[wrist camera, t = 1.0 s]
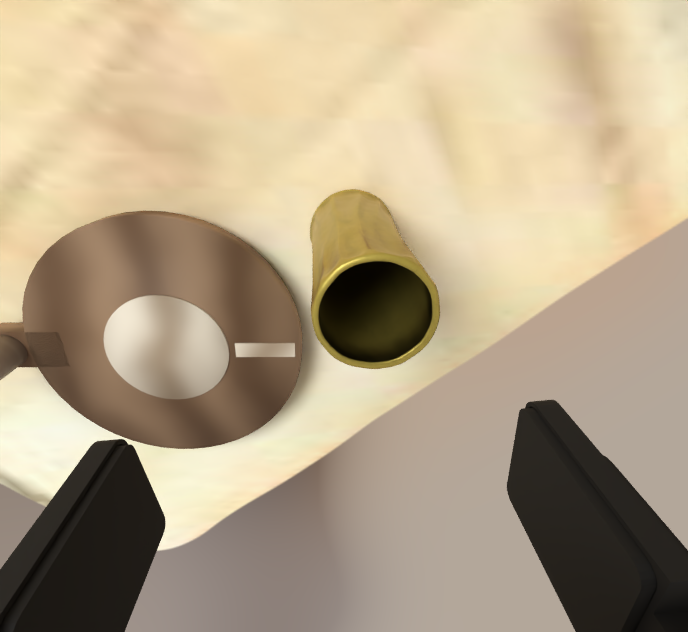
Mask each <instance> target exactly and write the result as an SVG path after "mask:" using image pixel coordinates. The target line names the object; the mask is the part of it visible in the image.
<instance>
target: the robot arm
mask: <svg viewBox="0 0 688 632" xmlns="http://www.w3.org/2000/svg"><path fill="white" fill-rule="evenodd" d="M507 491H508V495H509V498H510V501H511V503H512V505H513V507H514V509H515V511H516V513H517V515H518V517H519V519H520V521H521V523H522V525H523V527H524V529H525V531H526V533H527V535H528V537H529V539H530V541H531V543H532V545H533V547H534V549H535V551H536V553H537V555H538V557H539V559H540V561H541V563H542V565H543V567H544V569H545V571H546V573H547V575H548V577H549V579H550V581H551V583H552V585H553V587H554V589H555V591H556V593H557V595H558V597H559V599H560V601H561V603H562V605H563V607H564V609H565V611H566V613H567V615H568V617H569V619H570V621H571V623H572V625H573V627H574V629H575V631H576V632H688V550H687V549H686V548H685V547H684V545H683V544H682V543H681V542H680V541H679V540H678V538H677V537H676V536H675V535H674V534H673V533H672V532H671V530H670V529H669V528H668V527H667V526H666V524H665V523H664V522H663V521H662V520H661V519H660V518H659V516H658V515H657V514H656V513H655V512H654V511H653V509H652V508H651V507H650V506H649V505H648V504H647V502H646V501H645V500H644V499H643V498H642V497H641V496H640V494H639V493H638V492H637V491H636V490H635V488H634V487H633V486H632V485H631V484H630V483H629V482H628V480H627V479H626V478H625V477H624V476H623V475H622V473H621V472H620V471H619V470H618V469H617V468H616V467H615V465H614V464H613V463H612V462H611V461H610V460H609V459H608V458H607V457H605V456H603V455H602V454H601V453H600V452H599V450H598V449H597V448H596V447H595V446H594V445H593V443H592V442H591V441H590V440H589V439H588V437H587V436H586V435H585V434H584V433H583V432H582V430H581V429H580V428H579V427H578V426H577V425H576V423H575V422H574V421H573V420H572V419H571V417H570V416H569V415H568V414H567V413H566V412H565V410H564V409H563V408H562V407H561V406H560V405H559V403H557V402H556V401H555V400H545V401H534V402H528V403H527V404H526V407H525V409H521V410H520V412H519V417H518V423H517V429H516V435H515V440H514V446H513V452H512V458H511V464H510V470H509V476H508V482H507ZM164 530H165V516H164V514H163V512H162V509H161V507H160V505H159V503H158V500H157V498H156V496H155V493H154V491H153V489H152V487H151V484H150V482H149V480H148V478H147V475H146V473H145V471H144V469H143V466H142V464H141V462H140V460H139V457H138V455H137V453H136V451H135V448H134V447H133V446H132V445H128V444H127V442H126V441H125V440H123V439H118V440H107V441H97V442H95V443H94V444H93V445H92V446H91V447H90V448H89V449H88V451H87V452H86V454H85V455H84V456H83V458H82V459H81V460H80V462H79V463H78V464H77V466H76V467H75V469H74V470H73V471H72V473H71V474H70V475H69V477H68V478H67V479H66V481H65V482H64V484H63V485H62V486H61V488H60V489H59V490H58V492H57V493H56V494H55V496H54V497H53V499H52V500H51V501H50V503H49V504H48V505H47V507H46V508H45V509H44V511H43V512H42V514H41V515H40V516H39V518H38V519H37V520H36V522H35V523H34V525H33V526H32V527H31V529H30V530H29V531H28V533H27V534H26V535H25V537H24V538H23V539H22V541H21V542H20V544H19V545H18V546H17V548H16V549H15V550H14V552H13V553H12V554H11V556H10V557H9V558H8V560H7V561H6V563H5V564H4V565H3V567H2V568H1V569H0V632H125V629H126V627H127V624H128V621H129V619H130V616H131V614H132V611H133V609H134V606H135V604H136V601H137V599H138V596H139V594H140V591H141V589H142V586H143V584H144V581H145V579H146V576H147V574H148V571H149V568H150V566H151V563H152V561H153V559H154V556H155V553H156V551H157V548H158V546H159V543H160V541H161V538H162V536H163V533H164Z"/></svg>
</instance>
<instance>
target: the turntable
mask: <svg viewBox="0 0 688 632" xmlns="http://www.w3.org/2000/svg"><path fill="white" fill-rule="evenodd" d="M22 310H23V323H1V324H0V380H1V379H3V378H4V377H5V376H6V375H8V374H9V373H10V372H12V371H13V370H14V369H16V368H17V367H38V368H39V370H40V371H41V373H42V374H43V376H44V377H45V379H46V380H47V381H48V383H49V384H50V385H51V386H52V388H53V389H54V390H55V391H56V392H57V393H58V394H59V396H60V397H61V398H63V399H64V400H65V401H66V402H67V403H68V404H69V405H70V406H71V407H72V408H74V409H75V410H76V411H78V412H79V413H80V414H82V415H83V416H84V417H86V418H87V419H89V420H90V421H92V422H94V423H95V424H97V425H99V426H100V427H102V428H104V429H106V430H108V431H111V432H113V433H115V434H117V435H120V436H122V437H125V438H127V439H130V440H133V441H137V442H141V443H144V444H148V445H154V446H159V447H166V448H177V449H194V448H205V447H212V446H216V445H221V444H225V443H228V442H231V441H235V440H237V439H240V438H242V437H244V436H246V435H249V434H250V433H252V432H254V431H255V430H257V429H259V428H260V427H262V426H263V425H264V424H266V423H267V422H268V421H269V420H271V419H272V418H273V417H274V416H275V415H276V414H277V413H278V412H279V411H280V410H281V408H282V407H283V406H284V404H285V403H286V401H287V400H288V398H289V397H290V395H291V393H292V391H293V389H294V387H295V384H296V381H297V378H298V375H299V371H300V364H301V357H302V330H301V323H300V319H299V315H298V312H297V309H296V305H295V303H294V301H293V299H292V297H291V295H290V292H289V290H288V289H287V287H286V286H285V284H284V283H283V281H282V279H281V278H280V276H279V275H278V274H277V273H276V271H275V270H274V269H273V268H272V267H271V265H270V264H269V263H268V262H267V261H266V260H265V259H264V258H263V257H262V256H261V255H260V254H259V253H257V252H256V251H255V250H254V249H253V248H251V247H250V246H249V245H247V244H246V243H245V242H243V241H242V240H241V239H239V238H238V237H236V236H234V235H232V234H231V233H229V232H227V231H225V230H224V229H222V228H219V227H217V226H215V225H212V224H210V223H208V222H205V221H203V220H199V219H196V218H193V217H189V216H186V215H181V214H175V213H169V212H161V211H137V212H126V213H121V214H117V215H112V216H108V217H105V218H102V219H100V220H97V221H95V222H92V223H90V224H87V225H85V226H82V227H80V228H77V229H75V230H74V231H72V232H70V233H69V234H67V235H65V236H64V237H62V238H61V239H59V240H58V241H57V242H56V243H55V244H54V245H52V246H51V247H50V248H49V249H48V250H47V251H46V252H45V254H44V255H43V256H42V257H41V258H40V260H39V261H38V262H37V264H36V266H35V268H34V269H33V271H32V273H31V275H30V277H29V280H28V283H27V286H26V289H25V292H24V300H23V307H22Z"/></svg>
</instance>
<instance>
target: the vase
mask: <svg viewBox="0 0 688 632" xmlns="http://www.w3.org/2000/svg"><path fill="white" fill-rule="evenodd" d="M310 238H311V242H312V249H313V289H312V302H311V317H312V323H313V327H314V331H315V334H316V336H317V338H318V340H319V341H320V343H321V344H322V345H323V347H324V348H325V349H326V350H327V351H328V352H329V353H330V354H331V355H332V356H333V357H334V358H336V359H337V360H339V361H341V362H343V363H345V364H348V365H351V366H355V367H361V368H369V369H380V368H387V367H392V366H395V365H399V364H401V363H403V362H405V361H407V360H408V359H410V358H411V357H413V356H414V355H416V354H417V353H418V352H420V351H421V350H422V349H423V348H424V347H425V346H426V345H427V344H428V343H429V341H430V340H431V338H432V336H433V335H434V333H435V330H436V328H437V325H438V322H439V316H440V306H439V296H438V291H437V288H436V285H435V283H434V282H433V281H432V279H431V278H430V277H429V275H428V274H427V273H426V271H425V270H424V268H423V267H422V265H421V264H420V263H419V261H418V260H417V259H416V257H415V256H414V255H413V253H412V252H411V251H410V250H409V248H408V247H407V246H406V244H405V243H404V242H403V240H402V238H401V237H400V235H399V233H398V231H397V229H396V227H395V225H394V222H393V220H392V217H391V214H390V213H389V211H388V209H387V207H386V206H385V205H384V203H383V202H382V201H381V200H380V199H379V198H377V197H376V196H374V195H372V194H370V193H368V192H365V191H361V190H355V189H352V190H344V191H340V192H337V193H334V194H332V195H331V196H329V197H328V198H327V199H325V200H324V201H323V202H322V203H321V204H320V206H319V207H318V208H317V210H316V211H315V213H314V216H313V218H312V222H311V227H310Z"/></svg>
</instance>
